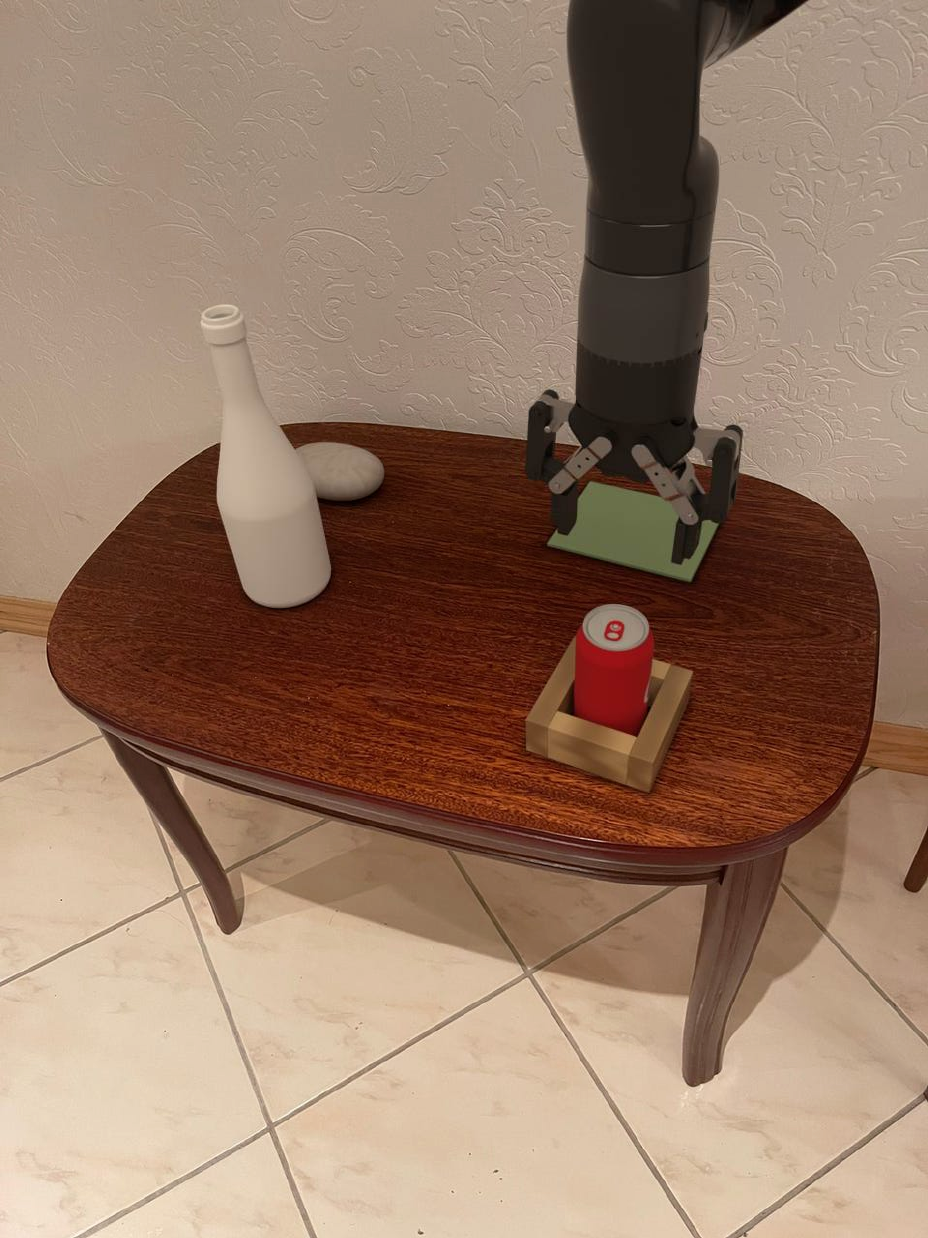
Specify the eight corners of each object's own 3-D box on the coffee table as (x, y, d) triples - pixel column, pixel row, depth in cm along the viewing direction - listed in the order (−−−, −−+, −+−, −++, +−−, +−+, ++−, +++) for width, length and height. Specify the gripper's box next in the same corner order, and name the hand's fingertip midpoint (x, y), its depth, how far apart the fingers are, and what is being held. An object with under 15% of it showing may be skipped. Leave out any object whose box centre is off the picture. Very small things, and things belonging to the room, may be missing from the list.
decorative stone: (271, 495, 108) (263, 460, 104) (316, 458, 113) (309, 424, 110) (357, 522, 102) (351, 486, 99) (400, 482, 108) (395, 447, 105)
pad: (724, 513, 100) (724, 510, 99) (690, 582, 91) (691, 579, 91) (590, 483, 105) (590, 480, 105) (547, 545, 97) (547, 543, 97)
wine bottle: (320, 546, 100) (263, 280, 79) (343, 596, 93) (287, 320, 73) (236, 569, 97) (156, 302, 77) (254, 622, 91) (171, 346, 70)
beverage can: (650, 707, 79) (663, 607, 71) (637, 760, 75) (648, 660, 67) (582, 693, 81) (586, 593, 73) (565, 744, 77) (567, 644, 68)
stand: (688, 701, 79) (693, 670, 77) (649, 793, 72) (653, 763, 70) (573, 666, 83) (574, 635, 81) (525, 750, 76) (525, 719, 74)
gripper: (506, 336, 53) (511, 549, 64) (744, 376, 48) (705, 600, 59) (554, 289, 58) (551, 494, 69) (775, 320, 53) (734, 537, 64)
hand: (622, 543), depth 64 cm, fingers open, 8 cm apart
